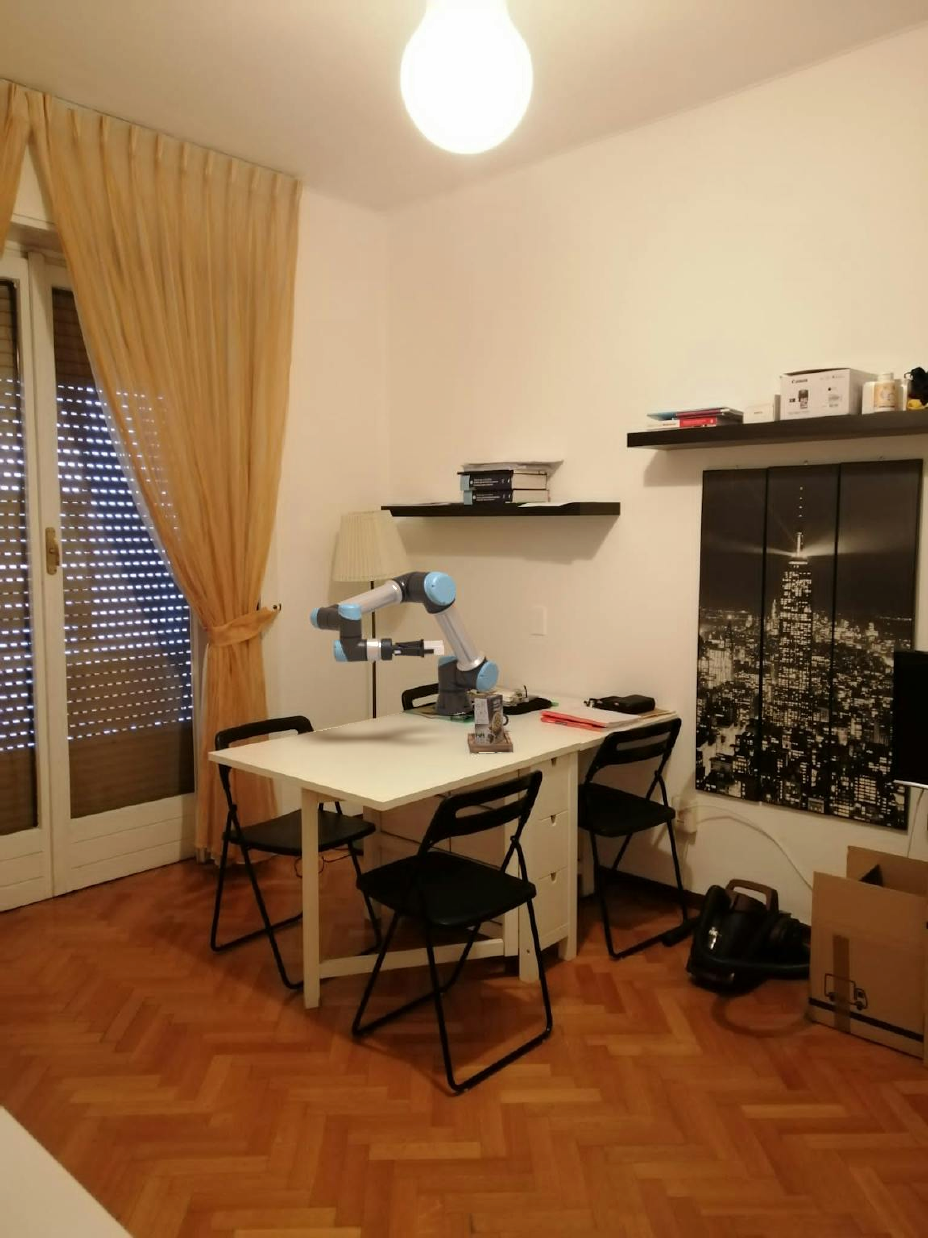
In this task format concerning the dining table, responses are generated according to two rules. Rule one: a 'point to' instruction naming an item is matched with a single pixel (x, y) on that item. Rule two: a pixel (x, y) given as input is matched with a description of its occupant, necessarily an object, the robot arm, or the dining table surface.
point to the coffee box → (488, 719)
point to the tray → (499, 747)
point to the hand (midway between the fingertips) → (443, 647)
